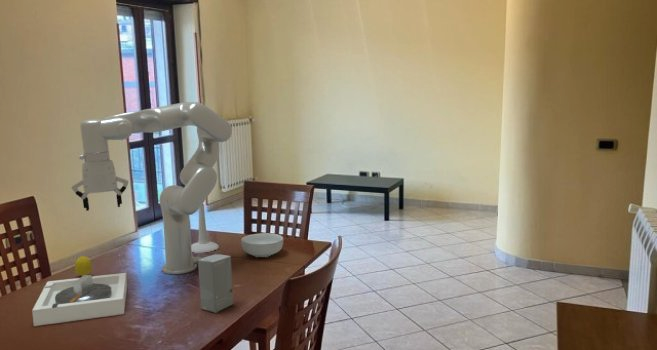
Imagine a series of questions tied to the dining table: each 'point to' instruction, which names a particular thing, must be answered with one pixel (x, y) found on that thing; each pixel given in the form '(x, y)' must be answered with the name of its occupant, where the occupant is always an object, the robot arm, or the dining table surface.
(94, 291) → the dial
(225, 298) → the skincare box
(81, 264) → the lemon
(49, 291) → the dial housing
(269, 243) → the cereal bowl
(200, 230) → the candlestick
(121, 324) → the dining table surface
